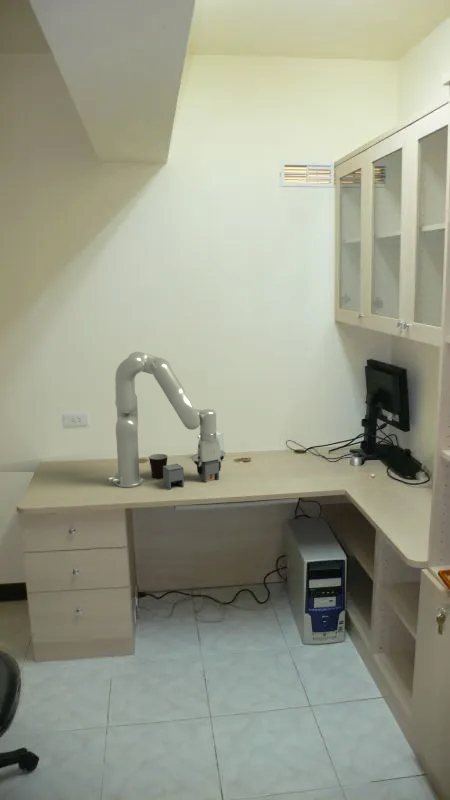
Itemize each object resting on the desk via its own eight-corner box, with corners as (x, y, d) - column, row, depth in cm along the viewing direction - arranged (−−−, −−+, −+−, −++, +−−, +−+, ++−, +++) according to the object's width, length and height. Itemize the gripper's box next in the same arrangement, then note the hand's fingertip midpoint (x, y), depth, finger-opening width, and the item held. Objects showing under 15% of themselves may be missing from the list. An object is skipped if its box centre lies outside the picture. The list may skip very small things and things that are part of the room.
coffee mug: (164, 480, 270) (164, 459, 268) (147, 479, 272) (146, 458, 270) (172, 472, 281) (171, 452, 279) (155, 471, 283) (154, 451, 281)
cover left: (169, 489, 258) (169, 470, 256) (163, 484, 264) (162, 466, 262) (183, 486, 261) (183, 467, 259) (177, 482, 267) (177, 463, 265)
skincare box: (224, 460, 298) (224, 432, 295) (216, 463, 294) (215, 434, 291) (213, 457, 304) (213, 429, 301) (205, 459, 300) (204, 431, 297)
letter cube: (207, 481, 268) (207, 473, 268) (203, 478, 272) (203, 470, 271) (214, 479, 270) (214, 471, 269) (210, 477, 274) (210, 469, 273)
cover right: (205, 482, 266) (205, 463, 265) (198, 478, 272) (198, 459, 271) (219, 479, 270) (218, 461, 268) (212, 475, 276) (211, 457, 274)
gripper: (194, 441, 260) (196, 477, 263) (228, 435, 268) (229, 471, 271) (187, 437, 266) (188, 472, 270) (220, 431, 274) (221, 466, 278)
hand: (209, 471), depth 270 cm, fingers open, 9 cm apart
